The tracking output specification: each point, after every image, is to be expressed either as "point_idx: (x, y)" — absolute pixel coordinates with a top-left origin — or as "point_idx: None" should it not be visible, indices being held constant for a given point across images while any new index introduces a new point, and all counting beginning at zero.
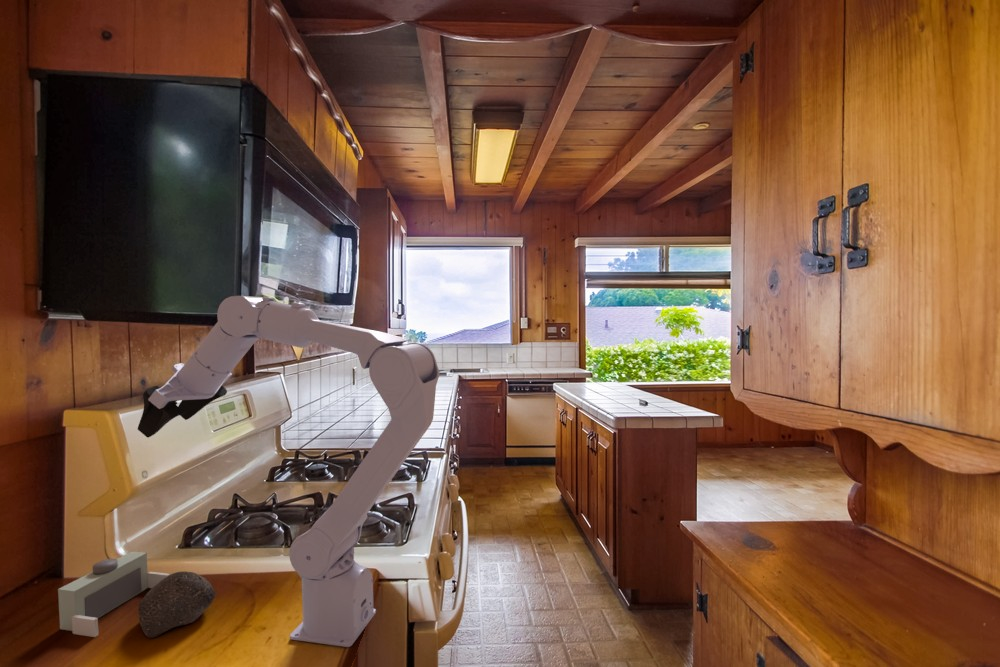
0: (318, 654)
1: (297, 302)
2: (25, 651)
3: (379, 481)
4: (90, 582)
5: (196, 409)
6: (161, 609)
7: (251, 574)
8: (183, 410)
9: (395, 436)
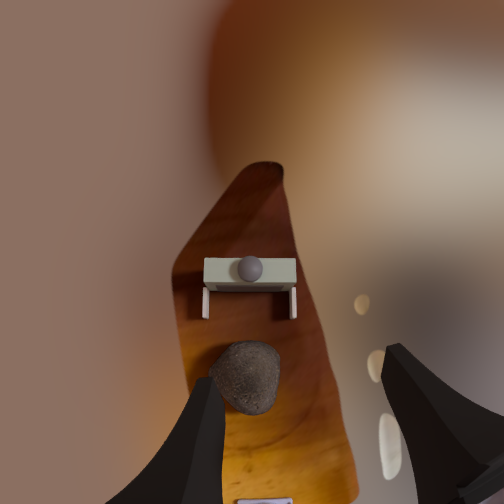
0: None
1: None
2: (178, 272)
3: None
4: (222, 281)
5: (402, 422)
6: (218, 389)
7: (336, 389)
8: (393, 376)
9: None
